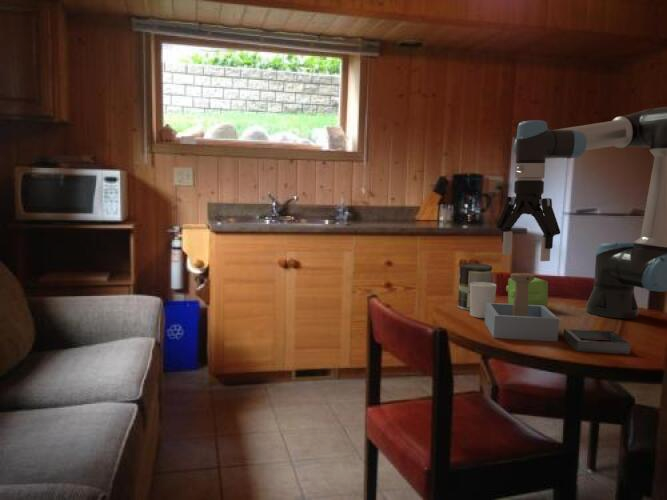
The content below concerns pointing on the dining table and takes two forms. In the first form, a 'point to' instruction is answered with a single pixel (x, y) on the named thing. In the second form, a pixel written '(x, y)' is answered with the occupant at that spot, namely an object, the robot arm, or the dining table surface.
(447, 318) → the dining table surface
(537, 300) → the gearbox
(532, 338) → the bin
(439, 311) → the dining table surface
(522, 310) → the handle
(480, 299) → the white cup
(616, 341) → the flat grey tray
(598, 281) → the robot arm
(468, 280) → the coffee can
